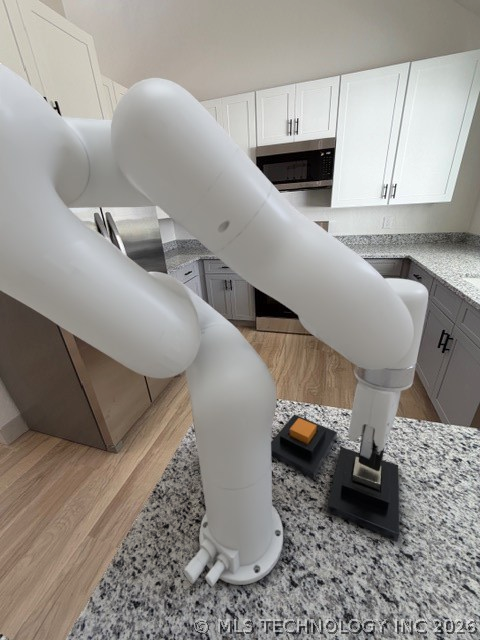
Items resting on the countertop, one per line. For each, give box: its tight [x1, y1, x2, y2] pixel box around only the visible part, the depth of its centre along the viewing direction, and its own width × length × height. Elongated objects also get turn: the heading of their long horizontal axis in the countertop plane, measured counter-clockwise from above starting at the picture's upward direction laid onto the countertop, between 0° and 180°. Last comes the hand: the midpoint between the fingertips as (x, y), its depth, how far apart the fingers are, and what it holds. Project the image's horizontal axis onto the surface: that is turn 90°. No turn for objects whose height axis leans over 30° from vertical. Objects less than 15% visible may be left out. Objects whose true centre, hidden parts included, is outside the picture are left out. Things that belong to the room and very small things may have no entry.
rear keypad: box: [271, 413, 338, 480], centre depth 56 cm, size 12×10×4 cm
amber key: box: [290, 418, 317, 444], centre depth 56 cm, size 4×4×2 cm
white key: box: [352, 457, 381, 492], centre depth 46 cm, size 4×4×2 cm
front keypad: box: [326, 446, 400, 543], centre depth 47 cm, size 13×10×4 cm
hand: (369, 463), depth 45 cm, fingers closed
